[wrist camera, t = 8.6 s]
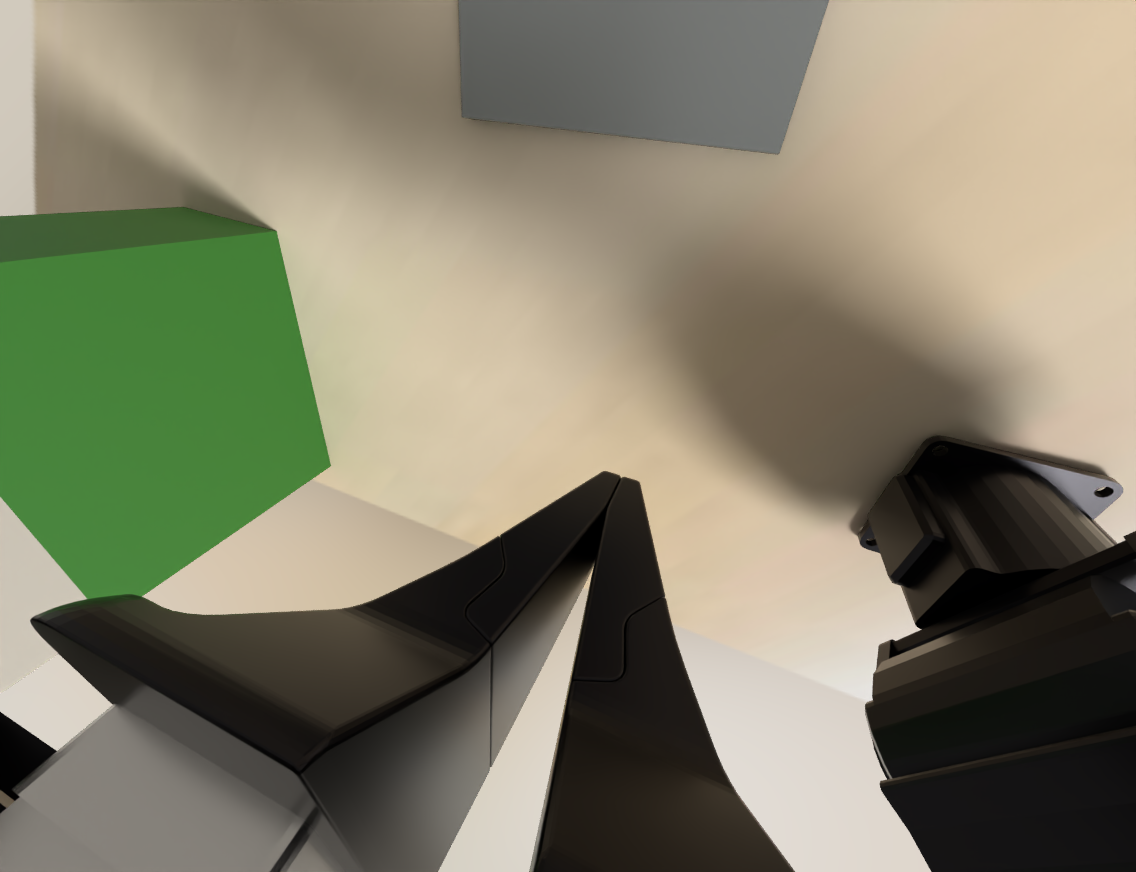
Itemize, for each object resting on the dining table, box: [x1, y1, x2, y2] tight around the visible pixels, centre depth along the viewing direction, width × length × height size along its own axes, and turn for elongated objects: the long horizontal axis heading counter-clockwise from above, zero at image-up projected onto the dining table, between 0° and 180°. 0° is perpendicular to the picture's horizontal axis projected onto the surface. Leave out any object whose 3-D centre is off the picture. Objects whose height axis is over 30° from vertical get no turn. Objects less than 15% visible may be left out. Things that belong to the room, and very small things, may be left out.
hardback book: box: [0, 207, 331, 694], centre depth 20 cm, size 18×7×24 cm, turn 172°
